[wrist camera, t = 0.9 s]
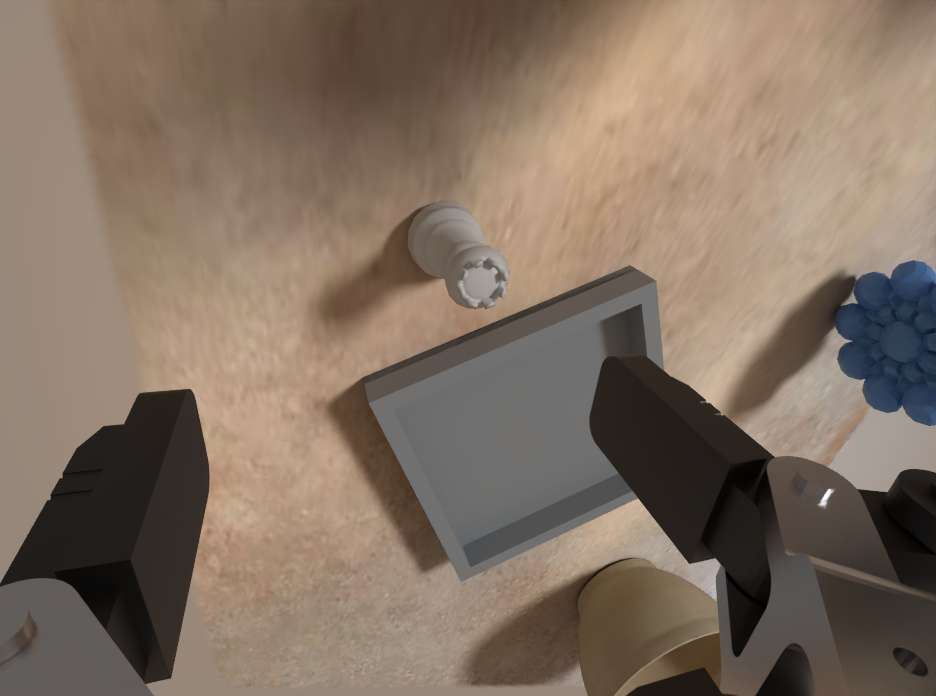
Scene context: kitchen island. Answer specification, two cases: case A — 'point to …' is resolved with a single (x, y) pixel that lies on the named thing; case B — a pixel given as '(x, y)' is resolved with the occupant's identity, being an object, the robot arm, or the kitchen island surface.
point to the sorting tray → (515, 420)
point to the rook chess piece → (458, 254)
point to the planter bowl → (644, 628)
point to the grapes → (893, 340)
